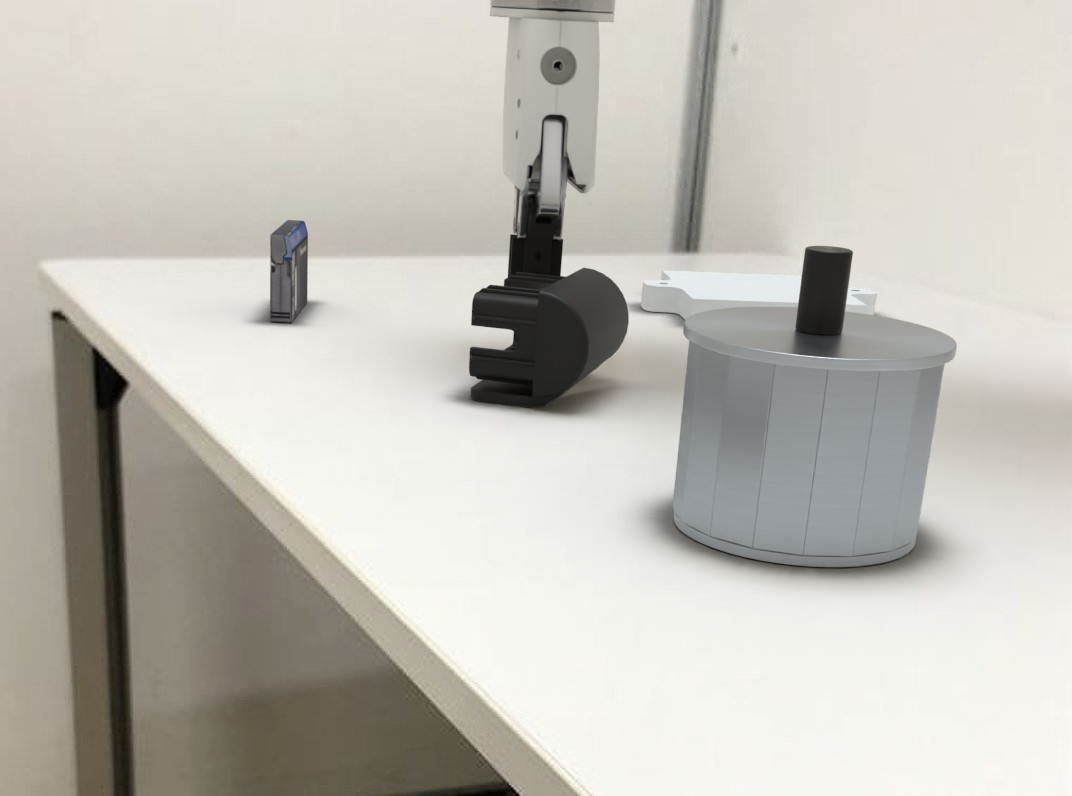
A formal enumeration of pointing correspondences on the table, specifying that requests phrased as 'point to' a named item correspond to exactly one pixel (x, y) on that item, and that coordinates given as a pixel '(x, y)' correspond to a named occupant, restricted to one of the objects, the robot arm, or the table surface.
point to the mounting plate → (734, 292)
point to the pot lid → (821, 327)
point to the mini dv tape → (288, 271)
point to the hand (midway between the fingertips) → (532, 299)
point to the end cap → (545, 334)
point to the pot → (803, 460)
